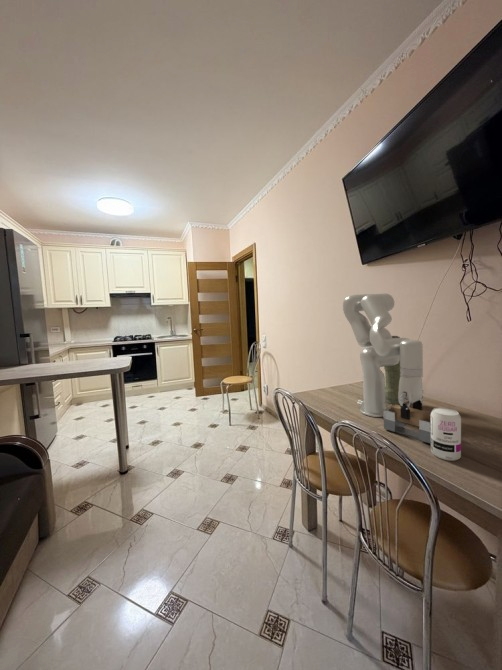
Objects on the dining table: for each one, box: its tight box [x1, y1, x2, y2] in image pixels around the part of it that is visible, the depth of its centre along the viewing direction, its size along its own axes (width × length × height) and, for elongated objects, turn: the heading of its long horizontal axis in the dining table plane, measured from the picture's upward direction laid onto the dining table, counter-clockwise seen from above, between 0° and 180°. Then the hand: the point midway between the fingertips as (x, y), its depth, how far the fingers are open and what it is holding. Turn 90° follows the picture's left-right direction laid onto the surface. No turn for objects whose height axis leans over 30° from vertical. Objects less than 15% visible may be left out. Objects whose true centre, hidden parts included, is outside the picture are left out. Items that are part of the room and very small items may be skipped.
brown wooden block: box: [390, 404, 431, 427], centre depth 104 cm, size 14×4×5 cm, turn 35°
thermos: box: [383, 335, 401, 406], centre depth 140 cm, size 9×12×35 cm
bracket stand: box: [383, 406, 431, 445], centre depth 105 cm, size 19×8×8 cm, turn 35°
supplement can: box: [430, 407, 462, 462], centre depth 89 cm, size 8×8×15 cm
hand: (411, 415), depth 104 cm, fingers open, 9 cm apart
